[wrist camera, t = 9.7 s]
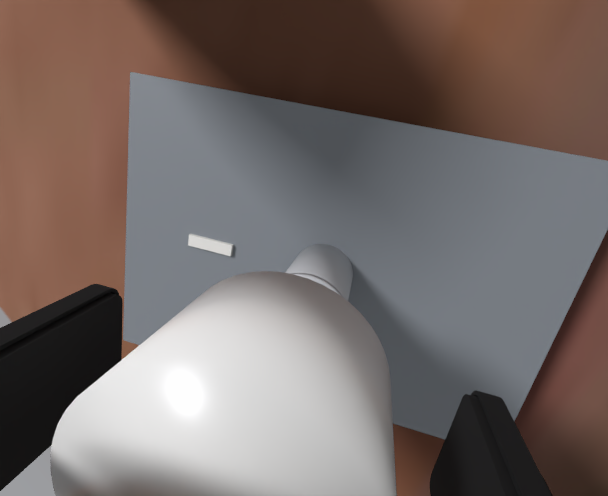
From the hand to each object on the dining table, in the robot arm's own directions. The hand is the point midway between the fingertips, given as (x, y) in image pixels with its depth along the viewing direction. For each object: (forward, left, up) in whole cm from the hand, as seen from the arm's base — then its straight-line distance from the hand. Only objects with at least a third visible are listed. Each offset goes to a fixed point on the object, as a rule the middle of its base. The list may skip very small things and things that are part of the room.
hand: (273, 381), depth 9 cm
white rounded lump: (0, 0, 0) cm, 0 cm away
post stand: (0, 0, -10) cm, 10 cm away
